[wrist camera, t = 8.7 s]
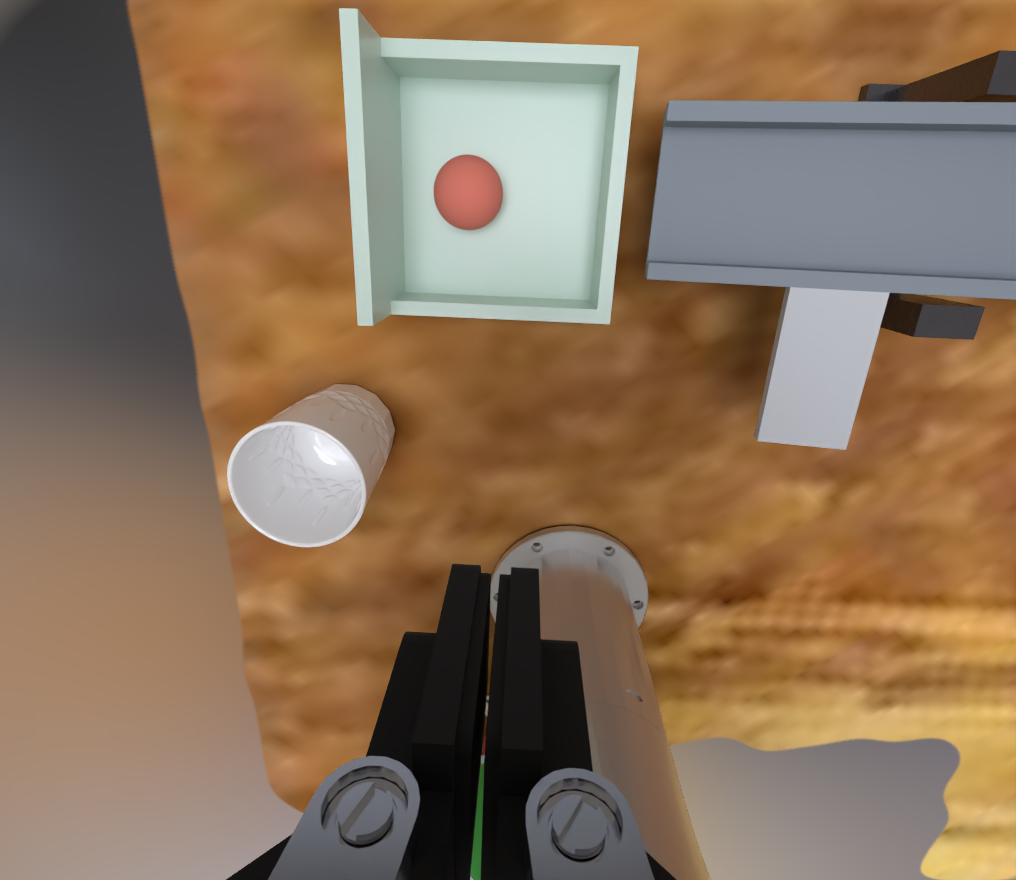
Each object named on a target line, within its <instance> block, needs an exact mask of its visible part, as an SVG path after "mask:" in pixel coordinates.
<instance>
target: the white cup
mask: <svg viewBox="0 0 1016 880" xmlns="http://www.w3.org/2000/svg"><path fill="white" fill-rule="evenodd" d="M394 433H395V428H394V425H393V421H392V417H391V414H390V411H389V410H388V408H387V407H386V406H385V405H384V404H383V402H382V401H381V400H380V399H379V398H378V396H377V395H376V394H374V393H372V392H370V391H368V390H366V389H364V388H362V387H360V386H358V385H348V384H334V385H332V386H329V387H327V388H325V389H322V390H320V391H318V392H316V393H314V394H313V395H310V396H308V397H306V398H304V399H302V400H301V401H299V402H297V403H295V404H294V405H292V406H290V407H288V408H286V409H285V410H283V411H282V412H280V413H279V414H277V415H275V416H274V417H272V418H271V419H269V420H268V421H266V422H264V423H263V424H261V425H260V426H258V427H256V428H255V429H253V430H252V431H250V432H249V433H247V434H246V435H245V436H244V437H243V438H242V439H241V440H240V441H239V442H238V443H237V445H236V446H235V448H234V450H233V451H232V454H231V456H230V459H229V463H228V469H227V480H228V487H229V491H230V494H231V497H232V499H233V501H234V503H235V505H236V507H237V509H238V510H239V512H240V513H241V514H242V516H243V517H244V518H245V519H246V520H247V521H248V522H249V523H250V524H251V525H252V526H253V527H254V528H255V529H257V530H258V531H259V532H261V533H262V534H264V535H265V536H267V537H269V538H271V539H273V540H275V541H278V542H280V543H283V544H287V545H291V546H297V547H318V546H323V545H327V544H330V543H333V542H335V541H337V540H339V539H341V538H342V537H344V536H345V535H347V534H348V533H349V532H350V531H351V530H352V529H353V528H354V527H355V526H356V524H357V523H358V521H359V520H360V518H361V516H362V514H363V511H364V509H365V507H366V505H367V503H368V501H369V499H370V497H371V495H372V493H373V491H374V488H375V486H376V484H377V482H378V480H379V478H380V476H381V473H382V470H383V468H384V466H385V463H386V461H387V458H388V455H389V453H390V451H391V448H392V443H393V438H394Z"/></svg>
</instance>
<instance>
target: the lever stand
mask: <svg viewBox="0 0 1016 880" xmlns="http://www.w3.org/2000/svg"><path fill="white" fill-rule="evenodd" d="M858 102H1016V51H997V52H995V53H992V54H989V55H987V56H984V57H981V58H978V59H976V60H973V61H970V62H968V63H965V64H962V65H959V66H957V67H954V68H951V69H949V70H946V71H943V72H940V73H938V74H935V75H932V76H930V77H927V78H924V79H921V80H919V81H916V82H913V83H911V84H908V85H890V84H868V85H865V86H863V87H861V92H860V96H859V100H858ZM984 308H985V307H981V306H976V305H970V304H965V303H959V302H954V301H948V300H943V299H938V298H932V297H927V296H921V295H916V294H905V293H890V294H889V297H888V301H887V304H886V308H885V312H884V315H883V319H882V322H881V326H880V327H882V328H885V329H889V330H892V331H895V332H899V333H902V334H906V335H909V336H912V337H929V338H951V339H974V337H975V334H976V331H977V328H978V326H979V323H980V320H981V317H982V314H983V311H984Z"/></svg>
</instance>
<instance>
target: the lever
mask: <svg viewBox="0 0 1016 880" xmlns="http://www.w3.org/2000/svg"><path fill="white" fill-rule="evenodd" d="M645 277H646V279H652V280H670V281H688V282H706V283H724V284H742V285H760V286H778V287H786V288H785V293H784V297H783V302H782V307H781V312H780V316H779V321H778V326H777V330H776V335H775V340H774V344H773V349H772V354H771V359H770V363H769V368H768V373H767V377H766V382H765V387H764V392H763V396H762V401H761V406H760V410H759V415H758V420H757V424H756V429H755V434H754V437H755V438H756V440H757V441H761V442H771V443H782V444H792V445H802V446H813V447H823V448H833V449H844V450H846V448H847V444H848V440H849V437H850V433H851V430H852V426H853V423H854V419H855V415H856V412H857V408H858V405H859V401H860V397H861V394H862V390H863V387H864V383H865V380H866V376H867V372H868V369H869V365H870V362H871V358H872V354H873V351H874V347H875V344H876V340H877V337H878V333H879V329H880V326H881V322H882V319H883V315H884V312H885V308H886V304H887V301H888V297H889V294H890V293H905V294H923V295H941V296H959V297H977V298H996V299H1014V300H1016V102H849V101H679V100H669V102H668V105H667V107H666V110H665V112H664V120H663V128H662V137H661V145H660V153H659V161H658V169H657V177H656V186H655V194H654V202H653V210H652V218H651V226H650V234H649V243H648V251H647V259H646V267H645Z"/></svg>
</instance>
